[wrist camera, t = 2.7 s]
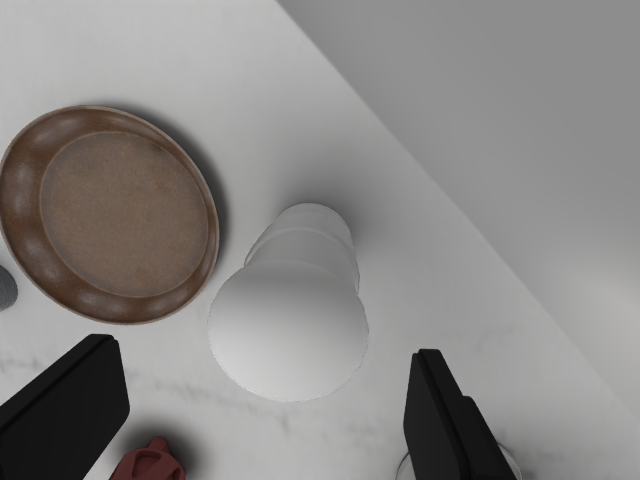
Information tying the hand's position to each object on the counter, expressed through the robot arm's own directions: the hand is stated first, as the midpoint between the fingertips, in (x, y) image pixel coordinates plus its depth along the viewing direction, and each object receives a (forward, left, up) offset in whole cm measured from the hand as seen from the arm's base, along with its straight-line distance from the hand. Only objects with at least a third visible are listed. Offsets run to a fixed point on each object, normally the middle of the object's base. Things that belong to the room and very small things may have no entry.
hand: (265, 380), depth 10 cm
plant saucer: (+16, -1, -19) cm, 25 cm away
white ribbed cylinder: (0, 0, -19) cm, 19 cm away
